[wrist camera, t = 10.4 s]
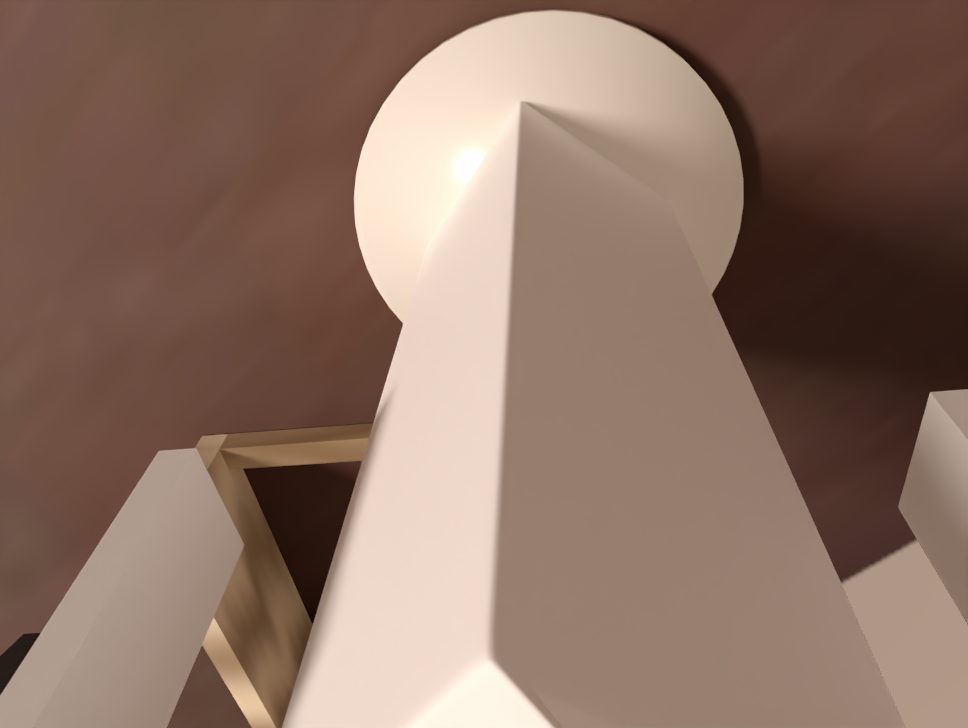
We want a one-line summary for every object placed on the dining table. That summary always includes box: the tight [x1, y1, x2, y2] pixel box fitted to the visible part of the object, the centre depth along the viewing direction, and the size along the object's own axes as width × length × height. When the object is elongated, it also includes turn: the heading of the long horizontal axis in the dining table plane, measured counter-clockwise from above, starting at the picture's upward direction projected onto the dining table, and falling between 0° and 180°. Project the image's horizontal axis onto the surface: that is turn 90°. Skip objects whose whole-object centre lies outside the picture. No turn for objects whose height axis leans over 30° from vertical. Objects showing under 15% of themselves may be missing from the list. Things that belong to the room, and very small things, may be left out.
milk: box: [282, 101, 906, 728], centre depth 14 cm, size 6×6×22 cm
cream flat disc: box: [354, 8, 743, 323], centre depth 24 cm, size 13×13×1 cm
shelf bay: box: [195, 423, 373, 728], centre depth 31 cm, size 15×16×6 cm
